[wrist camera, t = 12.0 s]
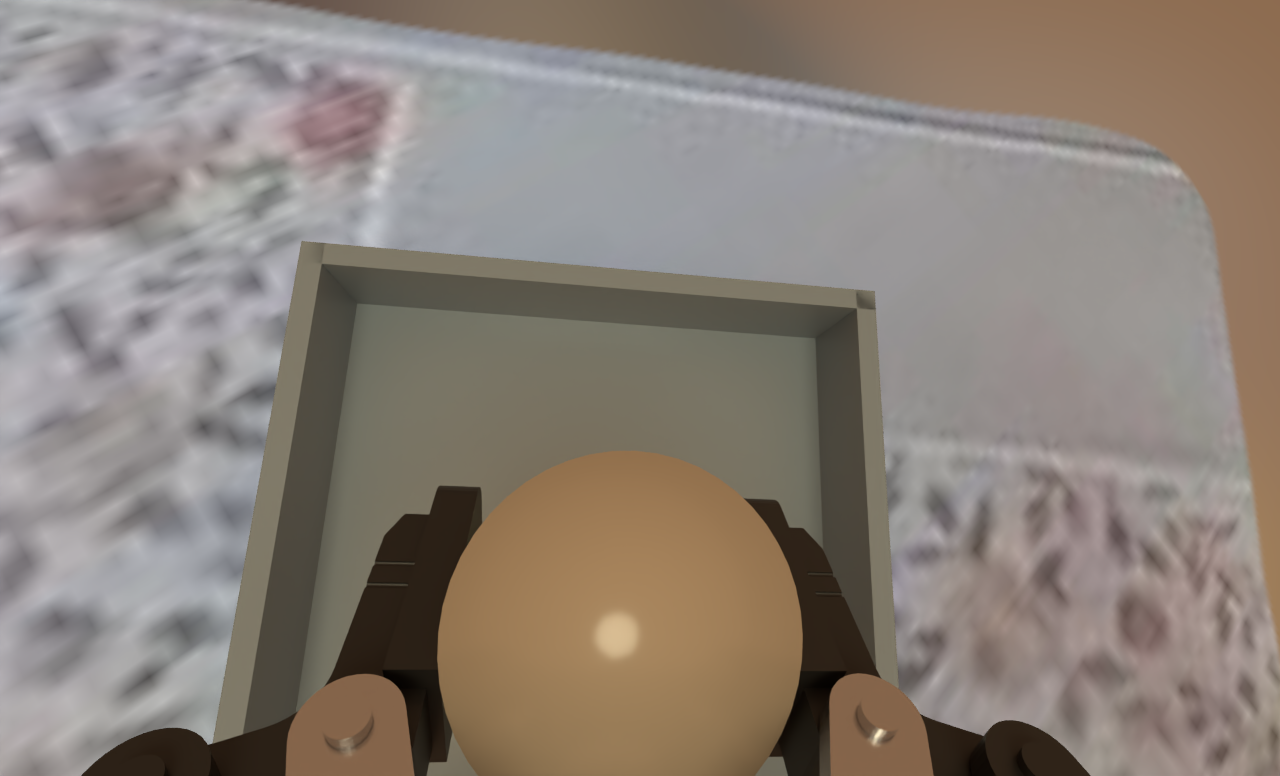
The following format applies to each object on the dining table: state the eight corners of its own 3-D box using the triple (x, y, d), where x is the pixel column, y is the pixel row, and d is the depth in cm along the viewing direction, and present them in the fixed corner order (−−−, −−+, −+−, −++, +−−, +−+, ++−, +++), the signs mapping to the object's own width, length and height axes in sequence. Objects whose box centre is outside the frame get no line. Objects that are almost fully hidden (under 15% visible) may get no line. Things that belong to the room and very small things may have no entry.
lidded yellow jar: (678, 490, 16) (798, 459, 9) (675, 680, 15) (808, 836, 8) (499, 482, 16) (457, 441, 8) (482, 681, 15) (415, 852, 7)
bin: (822, 330, 29) (874, 291, 24) (842, 848, 24) (913, 929, 19) (347, 293, 27) (301, 241, 22) (258, 868, 21) (172, 967, 17)
